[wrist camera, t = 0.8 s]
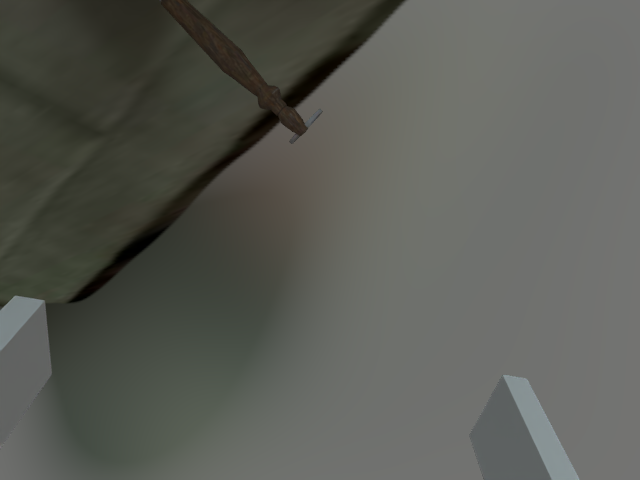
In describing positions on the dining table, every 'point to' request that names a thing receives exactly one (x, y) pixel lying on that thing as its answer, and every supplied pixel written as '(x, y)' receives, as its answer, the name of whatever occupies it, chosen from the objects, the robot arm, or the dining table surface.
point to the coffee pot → (235, 64)
